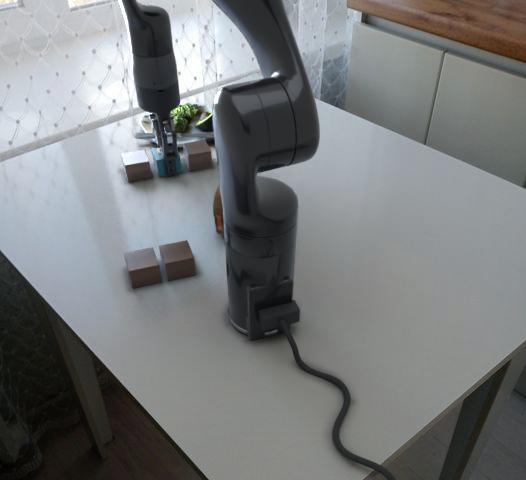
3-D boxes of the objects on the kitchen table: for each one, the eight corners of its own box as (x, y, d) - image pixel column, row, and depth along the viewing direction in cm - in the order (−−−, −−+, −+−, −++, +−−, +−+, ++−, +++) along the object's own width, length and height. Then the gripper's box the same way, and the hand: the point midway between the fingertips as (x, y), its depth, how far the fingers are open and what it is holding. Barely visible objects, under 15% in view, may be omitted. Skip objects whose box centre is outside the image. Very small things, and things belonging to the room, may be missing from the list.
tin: (231, 246, 92) (228, 203, 86) (212, 244, 92) (209, 200, 86) (250, 196, 102) (249, 154, 95) (233, 194, 102) (232, 152, 96)
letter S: (182, 172, 107) (180, 155, 104) (158, 176, 106) (156, 159, 103) (176, 161, 110) (174, 143, 107) (153, 164, 109) (151, 147, 106)
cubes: (212, 167, 108) (211, 150, 106) (128, 182, 105) (124, 165, 102) (206, 156, 111) (205, 139, 109) (124, 170, 108) (120, 153, 105)
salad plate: (148, 163, 109) (145, 140, 106) (121, 124, 120) (117, 102, 116) (237, 141, 115) (236, 119, 112) (204, 106, 126) (202, 85, 122)
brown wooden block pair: (196, 274, 87) (194, 257, 85) (132, 288, 85) (128, 271, 82) (189, 257, 90) (187, 239, 87) (127, 270, 88) (123, 252, 85)
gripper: (126, 64, 99) (142, 153, 111) (142, 98, 90) (156, 190, 103) (168, 58, 100) (178, 147, 113) (187, 91, 91) (196, 183, 104)
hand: (168, 167), depth 108 cm, fingers closed on letter S, 4 cm apart
